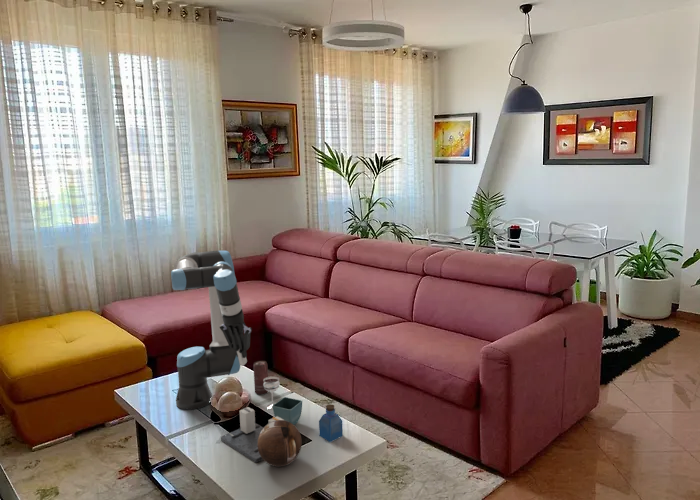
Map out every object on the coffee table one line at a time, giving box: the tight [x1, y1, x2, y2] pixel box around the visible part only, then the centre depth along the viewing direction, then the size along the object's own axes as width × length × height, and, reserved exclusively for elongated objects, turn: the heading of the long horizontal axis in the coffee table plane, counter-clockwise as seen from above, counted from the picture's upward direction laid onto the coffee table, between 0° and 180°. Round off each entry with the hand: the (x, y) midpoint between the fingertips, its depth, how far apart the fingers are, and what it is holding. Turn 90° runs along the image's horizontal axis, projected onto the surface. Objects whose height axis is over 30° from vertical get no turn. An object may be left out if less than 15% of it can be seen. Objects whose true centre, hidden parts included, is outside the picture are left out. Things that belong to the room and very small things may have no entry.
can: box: [253, 360, 269, 396], centre depth 243 cm, size 6×6×14 cm
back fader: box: [239, 406, 256, 434], centre depth 207 cm, size 4×4×8 cm
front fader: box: [267, 416, 284, 424], centre depth 199 cm, size 4×4×8 cm
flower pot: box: [272, 396, 303, 426], centre depth 214 cm, size 9×9×9 cm
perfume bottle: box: [318, 404, 344, 443], centre depth 204 cm, size 6×6×12 cm
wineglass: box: [263, 376, 280, 410], centre depth 229 cm, size 7×7×12 cm
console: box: [220, 422, 264, 464], centre depth 201 cm, size 22×15×2 cm
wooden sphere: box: [257, 420, 303, 467], centre depth 187 cm, size 15×15×15 cm
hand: (243, 363), depth 207 cm, fingers closed
